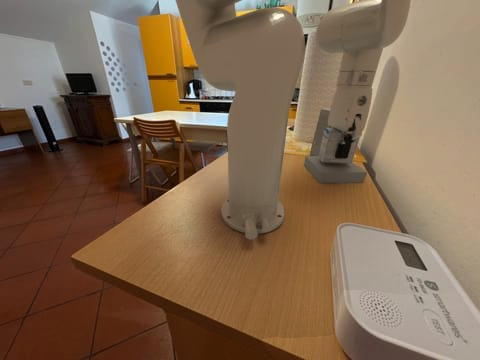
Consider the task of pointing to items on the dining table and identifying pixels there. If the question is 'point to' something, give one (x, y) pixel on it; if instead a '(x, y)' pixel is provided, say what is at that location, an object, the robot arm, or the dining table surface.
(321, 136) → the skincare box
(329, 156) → the medicine box
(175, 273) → the dining table surface
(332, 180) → the grey base
